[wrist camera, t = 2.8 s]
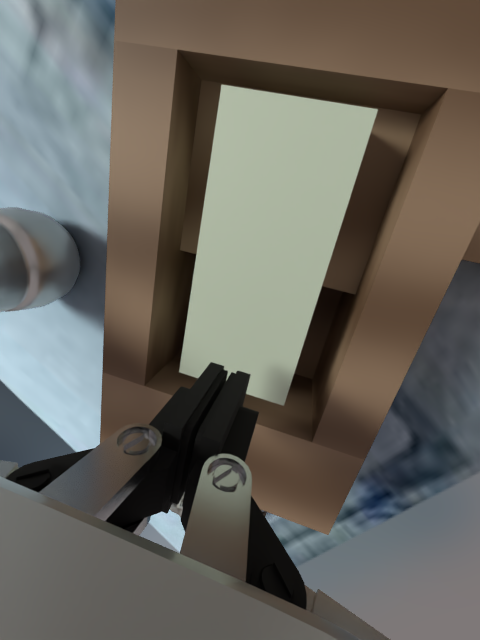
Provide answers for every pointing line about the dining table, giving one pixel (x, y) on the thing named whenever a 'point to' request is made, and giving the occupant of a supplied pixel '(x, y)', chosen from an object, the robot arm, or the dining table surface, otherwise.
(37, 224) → the plastic bottle
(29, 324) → the dining table surface
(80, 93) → the dining table surface
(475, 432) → the dining table surface
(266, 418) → the pocket board
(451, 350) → the dining table surface
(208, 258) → the slab
